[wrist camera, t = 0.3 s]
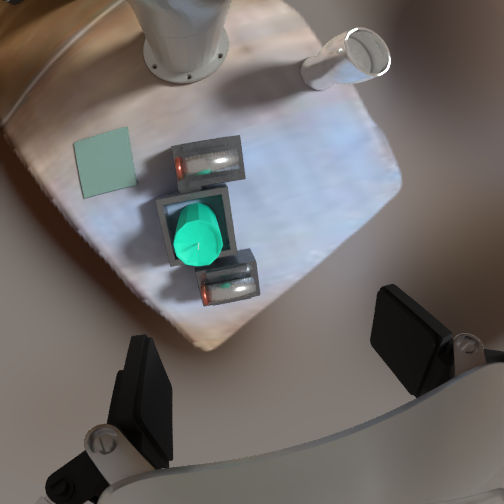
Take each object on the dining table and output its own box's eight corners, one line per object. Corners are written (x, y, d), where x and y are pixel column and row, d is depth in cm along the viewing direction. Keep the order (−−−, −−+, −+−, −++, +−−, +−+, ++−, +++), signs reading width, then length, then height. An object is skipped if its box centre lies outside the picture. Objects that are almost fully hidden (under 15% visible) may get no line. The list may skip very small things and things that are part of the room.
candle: (170, 227, 43) (163, 257, 32) (191, 195, 42) (189, 213, 31) (203, 246, 45) (206, 281, 34) (224, 215, 44) (234, 240, 33)
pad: (74, 142, 35) (73, 142, 34) (127, 126, 36) (126, 126, 35) (85, 197, 38) (84, 198, 38) (137, 184, 39) (136, 184, 39)
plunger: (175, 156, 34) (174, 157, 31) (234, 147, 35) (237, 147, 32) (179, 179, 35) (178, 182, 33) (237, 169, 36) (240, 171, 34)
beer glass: (303, 96, 39) (352, 79, 25) (292, 56, 36) (335, 24, 22) (341, 90, 39) (398, 77, 26) (330, 53, 37) (382, 27, 23)
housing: (150, 151, 38) (143, 152, 33) (234, 136, 39) (240, 134, 34) (181, 294, 47) (180, 312, 42) (254, 280, 49) (261, 297, 44)
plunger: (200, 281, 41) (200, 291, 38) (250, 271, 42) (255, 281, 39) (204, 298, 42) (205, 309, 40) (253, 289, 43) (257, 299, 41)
